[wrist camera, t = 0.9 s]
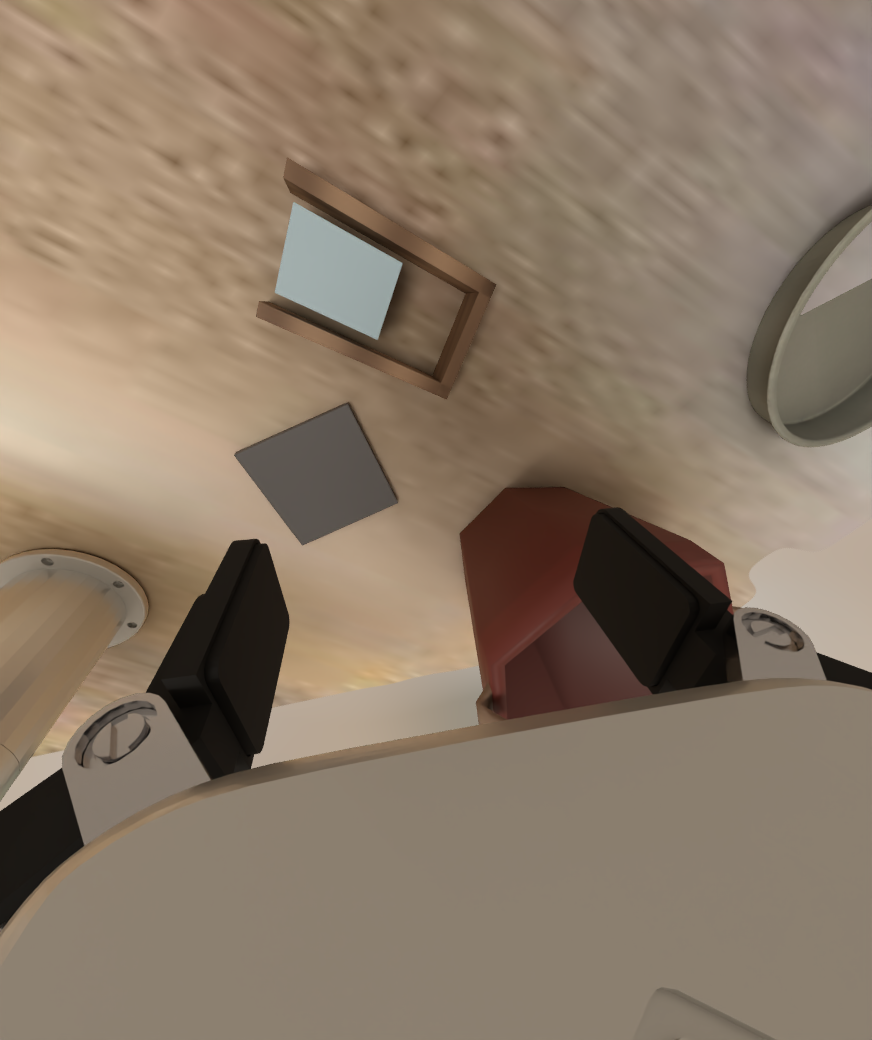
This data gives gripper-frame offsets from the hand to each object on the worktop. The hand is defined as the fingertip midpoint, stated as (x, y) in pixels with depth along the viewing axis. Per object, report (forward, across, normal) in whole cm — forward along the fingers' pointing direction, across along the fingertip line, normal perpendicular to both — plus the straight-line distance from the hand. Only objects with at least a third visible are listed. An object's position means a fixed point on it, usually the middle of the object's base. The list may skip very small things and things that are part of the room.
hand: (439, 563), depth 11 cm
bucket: (+26, -16, +20) cm, 37 cm away
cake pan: (+29, -49, -4) cm, 57 cm away
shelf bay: (+26, +1, -6) cm, 27 cm away
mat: (+25, +7, +9) cm, 28 cm away
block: (+26, +3, -7) cm, 27 cm away
